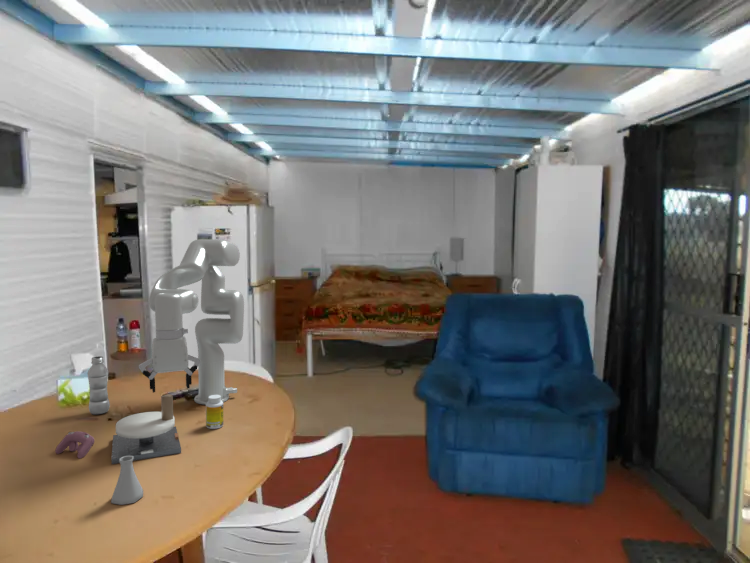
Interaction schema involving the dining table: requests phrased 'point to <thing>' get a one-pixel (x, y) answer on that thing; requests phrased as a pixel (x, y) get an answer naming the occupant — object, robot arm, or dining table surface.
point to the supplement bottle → (214, 412)
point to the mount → (146, 446)
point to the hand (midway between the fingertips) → (171, 389)
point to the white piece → (148, 421)
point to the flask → (127, 484)
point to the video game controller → (76, 443)
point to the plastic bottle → (98, 386)
